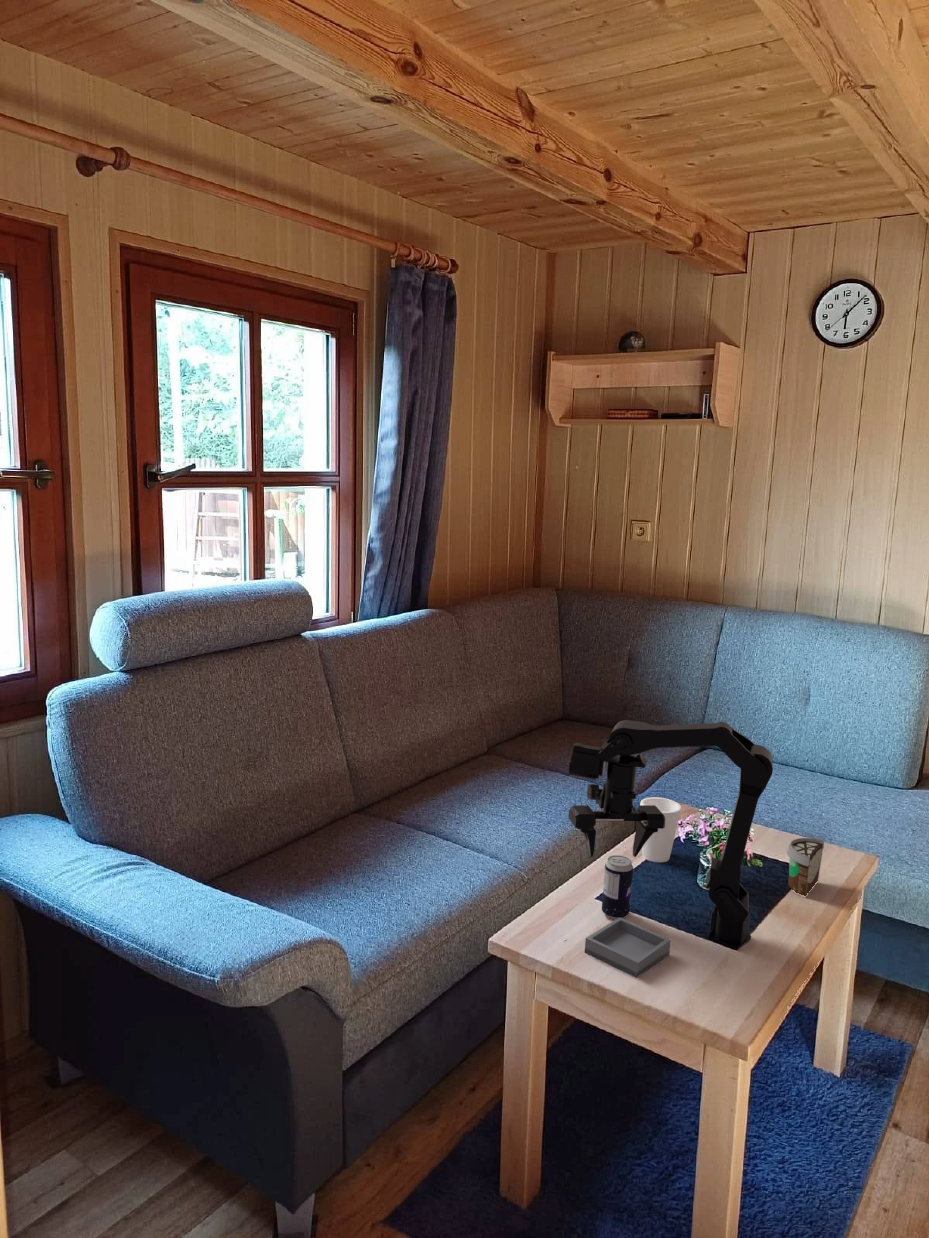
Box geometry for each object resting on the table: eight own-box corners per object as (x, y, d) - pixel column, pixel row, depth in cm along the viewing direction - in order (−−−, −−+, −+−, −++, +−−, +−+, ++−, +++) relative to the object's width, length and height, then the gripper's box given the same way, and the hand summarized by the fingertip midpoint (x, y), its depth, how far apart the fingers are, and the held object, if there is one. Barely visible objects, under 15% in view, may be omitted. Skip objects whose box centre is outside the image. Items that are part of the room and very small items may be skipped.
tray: (669, 954, 177) (670, 939, 176) (636, 977, 168) (638, 962, 168) (618, 931, 184) (619, 917, 184) (584, 952, 176) (585, 937, 175)
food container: (792, 872, 215) (797, 832, 213) (819, 880, 211) (824, 839, 209) (775, 891, 205) (780, 849, 203) (803, 900, 201) (809, 857, 199)
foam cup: (629, 857, 218) (633, 805, 216) (644, 844, 226) (649, 794, 224) (667, 868, 213) (672, 815, 211) (682, 855, 221) (687, 803, 218)
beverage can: (628, 923, 188) (633, 868, 186) (600, 919, 189) (604, 864, 187) (629, 909, 193) (634, 856, 191) (602, 906, 194) (606, 852, 192)
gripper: (650, 769, 195) (642, 838, 197) (564, 769, 191) (558, 839, 194) (670, 789, 184) (661, 862, 187) (579, 789, 181) (572, 863, 184)
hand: (612, 856), depth 188 cm, fingers open, 9 cm apart
